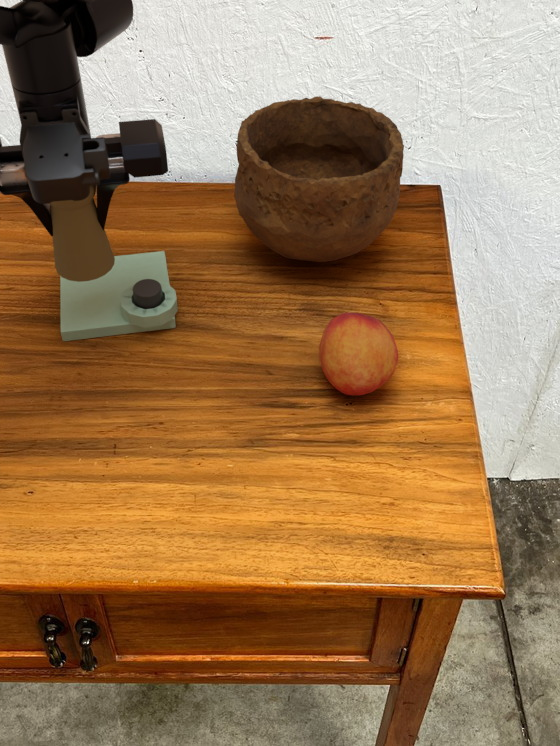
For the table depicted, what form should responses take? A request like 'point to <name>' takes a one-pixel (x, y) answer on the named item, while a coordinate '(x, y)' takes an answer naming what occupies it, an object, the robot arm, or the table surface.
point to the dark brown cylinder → (147, 293)
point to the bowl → (318, 177)
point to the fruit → (357, 353)
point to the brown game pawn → (80, 240)
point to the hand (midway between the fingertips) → (77, 231)
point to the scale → (116, 300)
